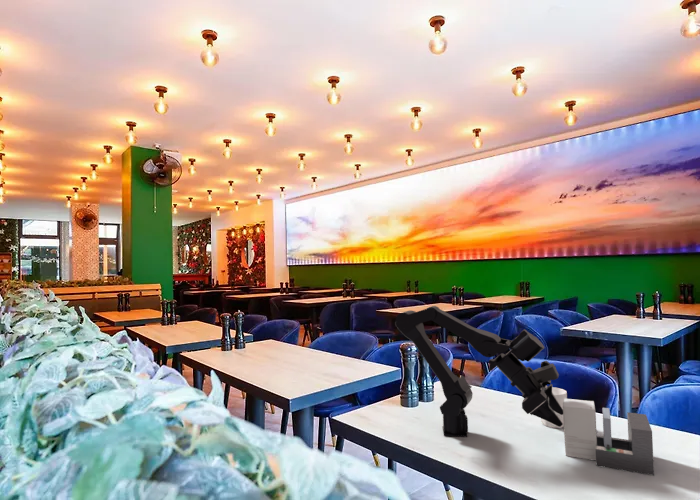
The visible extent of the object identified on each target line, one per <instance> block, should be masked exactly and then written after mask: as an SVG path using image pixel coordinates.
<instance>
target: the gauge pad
mask: <svg viewBox="0 0 700 500" xmlns="http://www.w3.org/2000/svg"><path fill="white" fill-rule="evenodd" d="M601 410H602V428H603V436H604V447H607V449H610V448H612V440H611V437H612V420H611V411H610V408H608V407H602V409H601Z"/></svg>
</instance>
